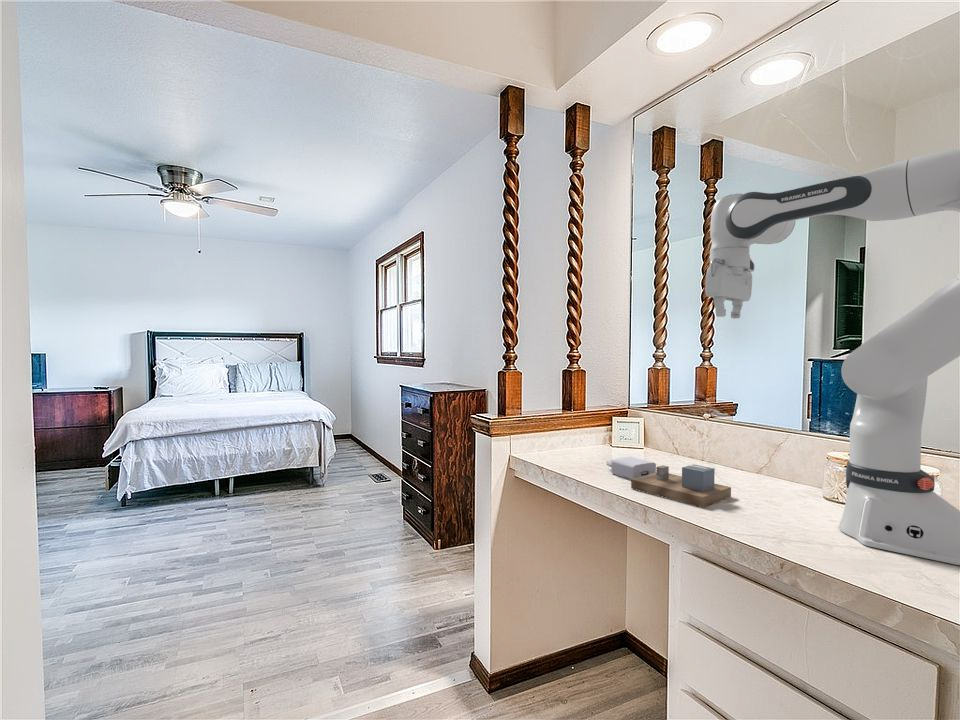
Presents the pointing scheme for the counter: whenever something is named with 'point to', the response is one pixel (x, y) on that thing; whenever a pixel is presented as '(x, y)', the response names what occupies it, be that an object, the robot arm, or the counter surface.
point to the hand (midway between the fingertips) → (728, 317)
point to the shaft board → (678, 488)
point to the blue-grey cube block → (698, 477)
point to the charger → (631, 467)
